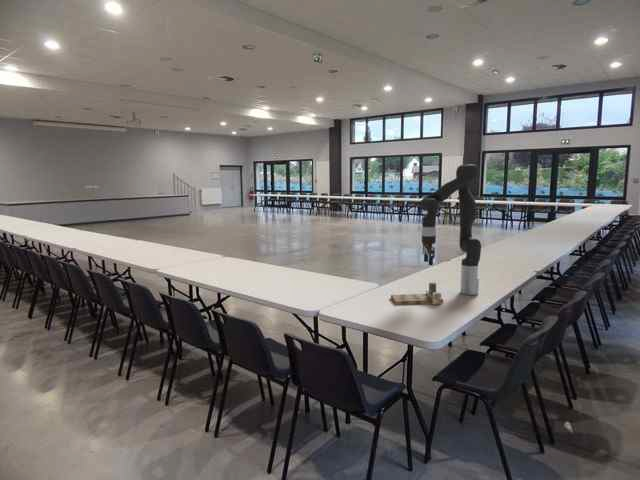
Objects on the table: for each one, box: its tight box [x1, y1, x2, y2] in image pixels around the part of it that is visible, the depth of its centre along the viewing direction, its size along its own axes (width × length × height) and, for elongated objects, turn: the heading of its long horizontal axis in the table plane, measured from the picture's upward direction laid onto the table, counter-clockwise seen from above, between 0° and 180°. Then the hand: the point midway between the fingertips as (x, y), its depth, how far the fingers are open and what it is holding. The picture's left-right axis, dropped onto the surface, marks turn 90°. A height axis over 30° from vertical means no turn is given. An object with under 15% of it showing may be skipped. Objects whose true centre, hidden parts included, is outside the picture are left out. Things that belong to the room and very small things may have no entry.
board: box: [390, 293, 444, 306], centre depth 227 cm, size 26×12×2 cm, turn 93°
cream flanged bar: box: [425, 282, 442, 305], centre depth 226 cm, size 4×15×10 cm, turn 3°
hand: (428, 263), depth 226 cm, fingers open, 8 cm apart
